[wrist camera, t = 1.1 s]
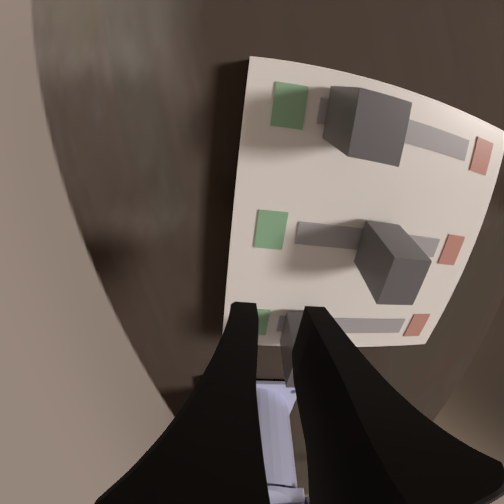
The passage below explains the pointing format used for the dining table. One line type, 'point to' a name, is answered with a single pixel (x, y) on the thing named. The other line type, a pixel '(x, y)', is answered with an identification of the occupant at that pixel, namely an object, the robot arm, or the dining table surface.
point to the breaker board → (350, 199)
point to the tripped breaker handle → (391, 263)
